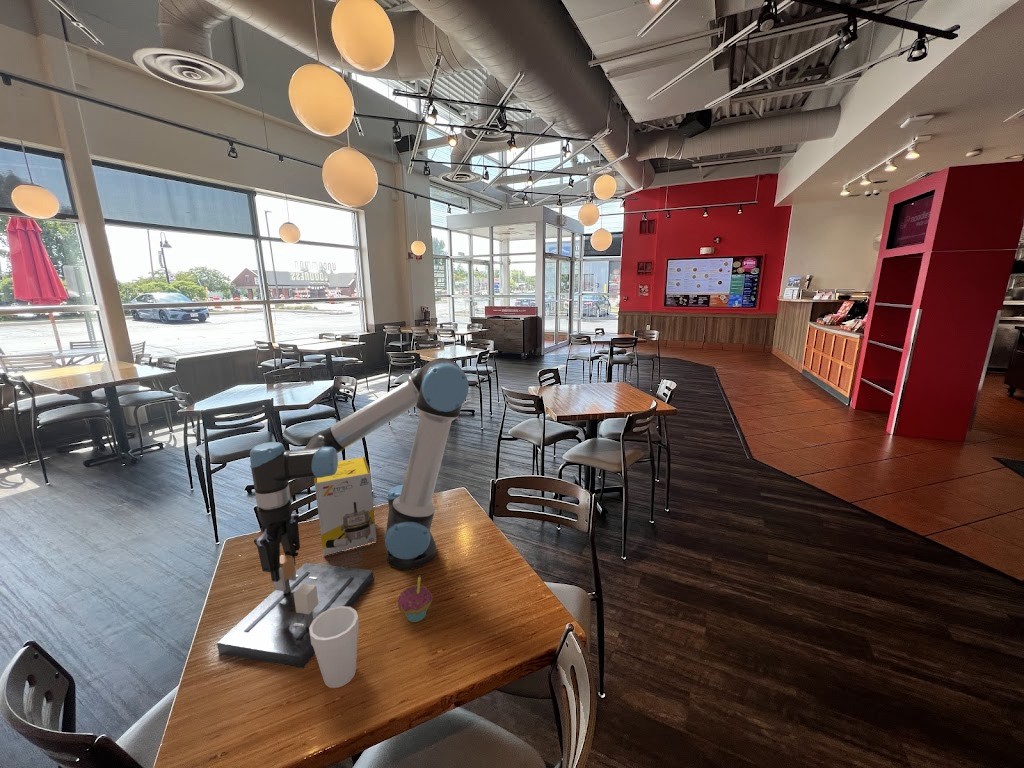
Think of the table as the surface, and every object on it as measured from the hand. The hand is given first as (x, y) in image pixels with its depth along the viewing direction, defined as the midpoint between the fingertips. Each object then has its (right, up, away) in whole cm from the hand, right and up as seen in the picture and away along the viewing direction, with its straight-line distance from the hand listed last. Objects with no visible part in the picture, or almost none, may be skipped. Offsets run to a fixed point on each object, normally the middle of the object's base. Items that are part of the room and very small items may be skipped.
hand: (285, 584), depth 110 cm
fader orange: (0, -2, 0) cm, 2 cm away
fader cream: (+12, -4, -11) cm, 17 cm away
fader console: (+6, -6, -3) cm, 9 cm away
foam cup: (+23, -9, -21) cm, 33 cm away
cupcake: (+36, -6, -4) cm, 37 cm away
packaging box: (+4, 0, +32) cm, 32 cm away
